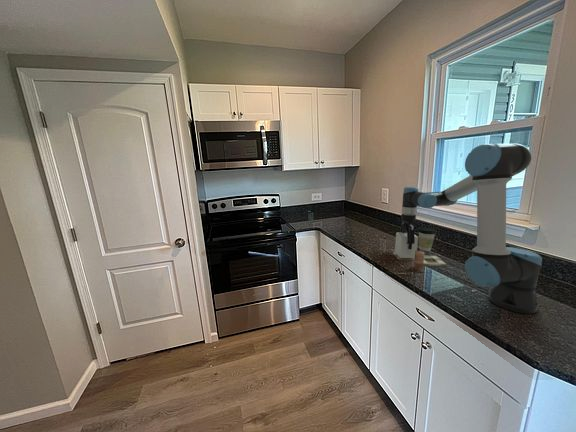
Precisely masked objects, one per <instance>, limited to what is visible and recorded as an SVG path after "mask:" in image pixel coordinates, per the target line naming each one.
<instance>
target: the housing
mask: <svg viewBox="0 0 576 432" xmlns="http://www.w3.org/2000/svg"><path fill="white" fill-rule="evenodd" d="M414 238H415V243H414V244H412V253H411V254H406V248H407V243H408V237H407V233H402V232H400V231H399V232H398V231H396V233H395V242H394V243H395V245H394V253H396V254H397V255H398V256H399V257H400V258H415V251H417V250H418V245H419V236H417V235H416V234H415V233H414Z"/></svg>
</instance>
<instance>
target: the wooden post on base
mask: <svg viewBox="0 0 576 432" xmlns="http://www.w3.org/2000/svg"><path fill="white" fill-rule="evenodd" d="M392 254H393V255H394V257H395V258H397V259H398V261H414V258H400V257H399V256H398V255H397V254H396V253H395V252H392Z"/></svg>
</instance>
